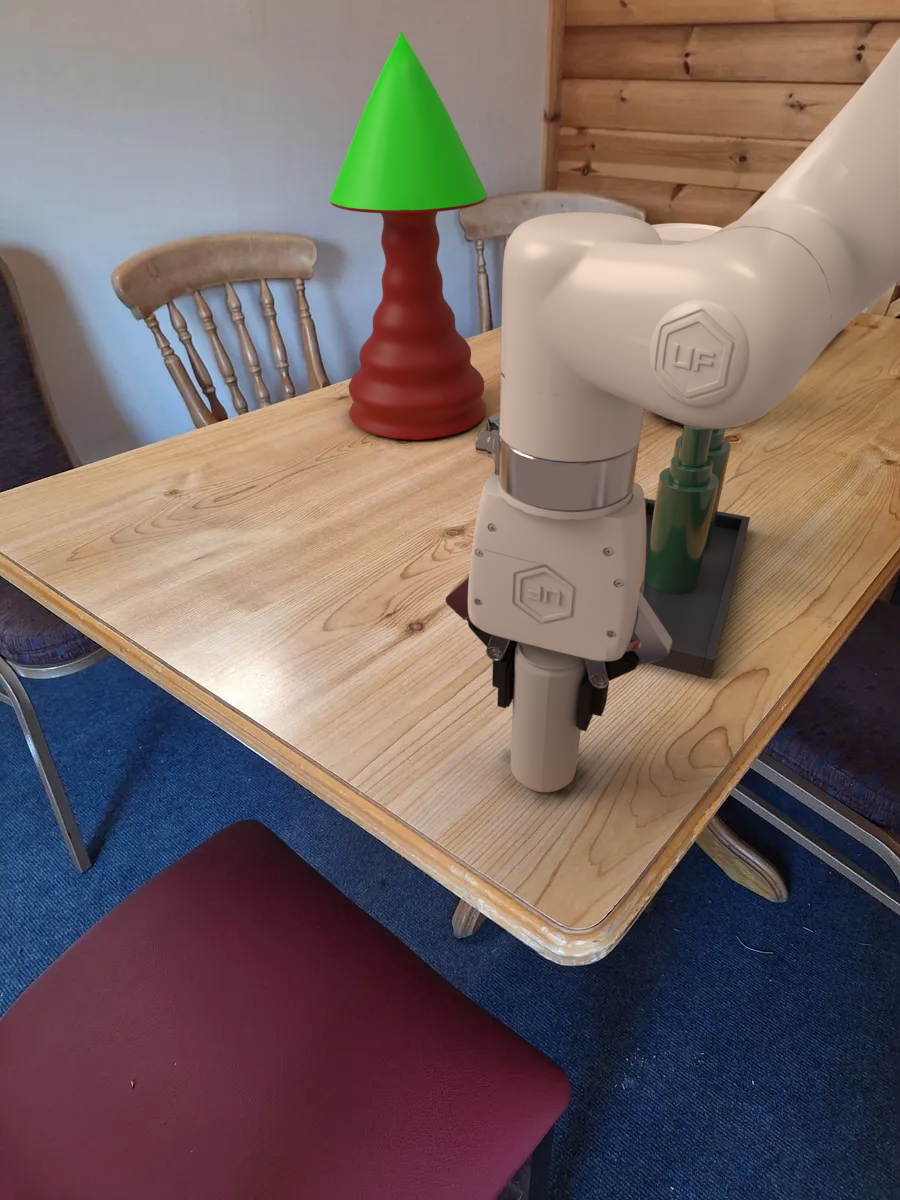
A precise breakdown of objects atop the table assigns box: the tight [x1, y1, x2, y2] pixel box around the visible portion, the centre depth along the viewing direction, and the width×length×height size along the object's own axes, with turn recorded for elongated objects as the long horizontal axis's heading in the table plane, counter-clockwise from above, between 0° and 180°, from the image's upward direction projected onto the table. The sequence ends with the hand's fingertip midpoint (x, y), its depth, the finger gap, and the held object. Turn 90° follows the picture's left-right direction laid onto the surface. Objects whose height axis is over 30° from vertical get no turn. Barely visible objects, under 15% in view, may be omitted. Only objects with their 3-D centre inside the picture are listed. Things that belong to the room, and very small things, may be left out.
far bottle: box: [672, 428, 732, 550], centre depth 77 cm, size 5×5×16 cm
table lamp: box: [329, 31, 488, 441], centre depth 100 cm, size 20×20×45 cm
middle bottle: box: [644, 424, 719, 594], centre depth 72 cm, size 5×5×16 cm
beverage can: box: [510, 642, 587, 793], centre depth 54 cm, size 5×5×12 cm
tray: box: [631, 497, 751, 679], centre depth 76 cm, size 12×26×2 cm, turn 156°
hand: (547, 703), depth 53 cm, fingers closed on beverage can, 4 cm apart
